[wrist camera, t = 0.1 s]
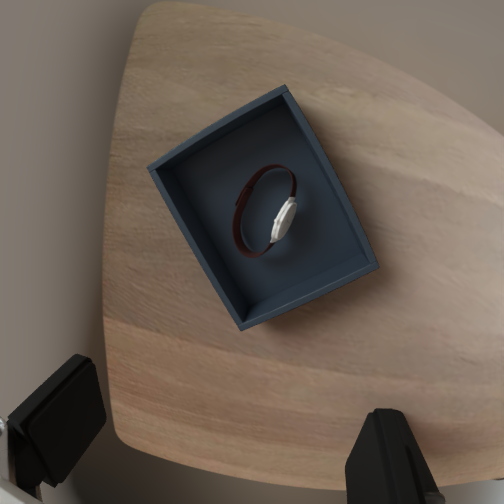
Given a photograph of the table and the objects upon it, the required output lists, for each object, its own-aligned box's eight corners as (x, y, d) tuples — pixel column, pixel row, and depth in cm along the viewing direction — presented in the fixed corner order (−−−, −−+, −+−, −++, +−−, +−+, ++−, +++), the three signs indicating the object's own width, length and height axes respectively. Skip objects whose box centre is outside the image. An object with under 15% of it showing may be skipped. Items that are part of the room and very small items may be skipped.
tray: (165, 166, 27) (145, 166, 23) (286, 95, 24) (284, 83, 21) (247, 311, 30) (240, 331, 26) (369, 254, 27) (380, 267, 23)
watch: (274, 260, 28) (271, 274, 24) (224, 239, 28) (213, 249, 24) (310, 176, 25) (312, 177, 22) (257, 154, 25) (250, 152, 22)
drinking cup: (365, 451, 33) (380, 587, 13) (344, 418, 31) (356, 577, 12) (421, 427, 31) (461, 560, 12) (406, 390, 30) (457, 544, 10)
